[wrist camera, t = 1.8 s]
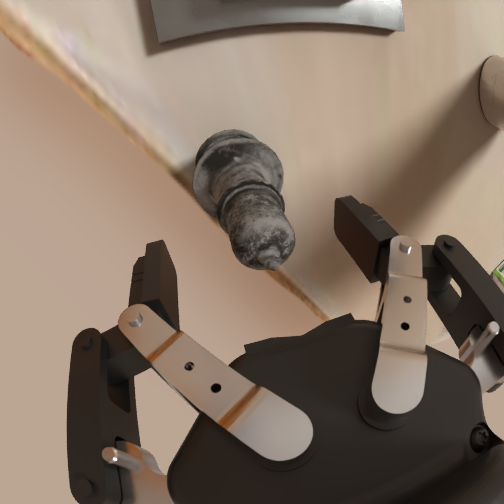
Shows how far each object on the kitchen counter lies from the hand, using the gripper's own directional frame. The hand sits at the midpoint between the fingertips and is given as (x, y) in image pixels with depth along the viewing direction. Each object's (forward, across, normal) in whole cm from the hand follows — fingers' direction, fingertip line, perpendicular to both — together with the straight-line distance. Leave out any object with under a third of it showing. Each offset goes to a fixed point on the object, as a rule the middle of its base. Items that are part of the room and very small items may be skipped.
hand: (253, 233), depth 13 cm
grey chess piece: (+10, 0, 0) cm, 10 cm away
